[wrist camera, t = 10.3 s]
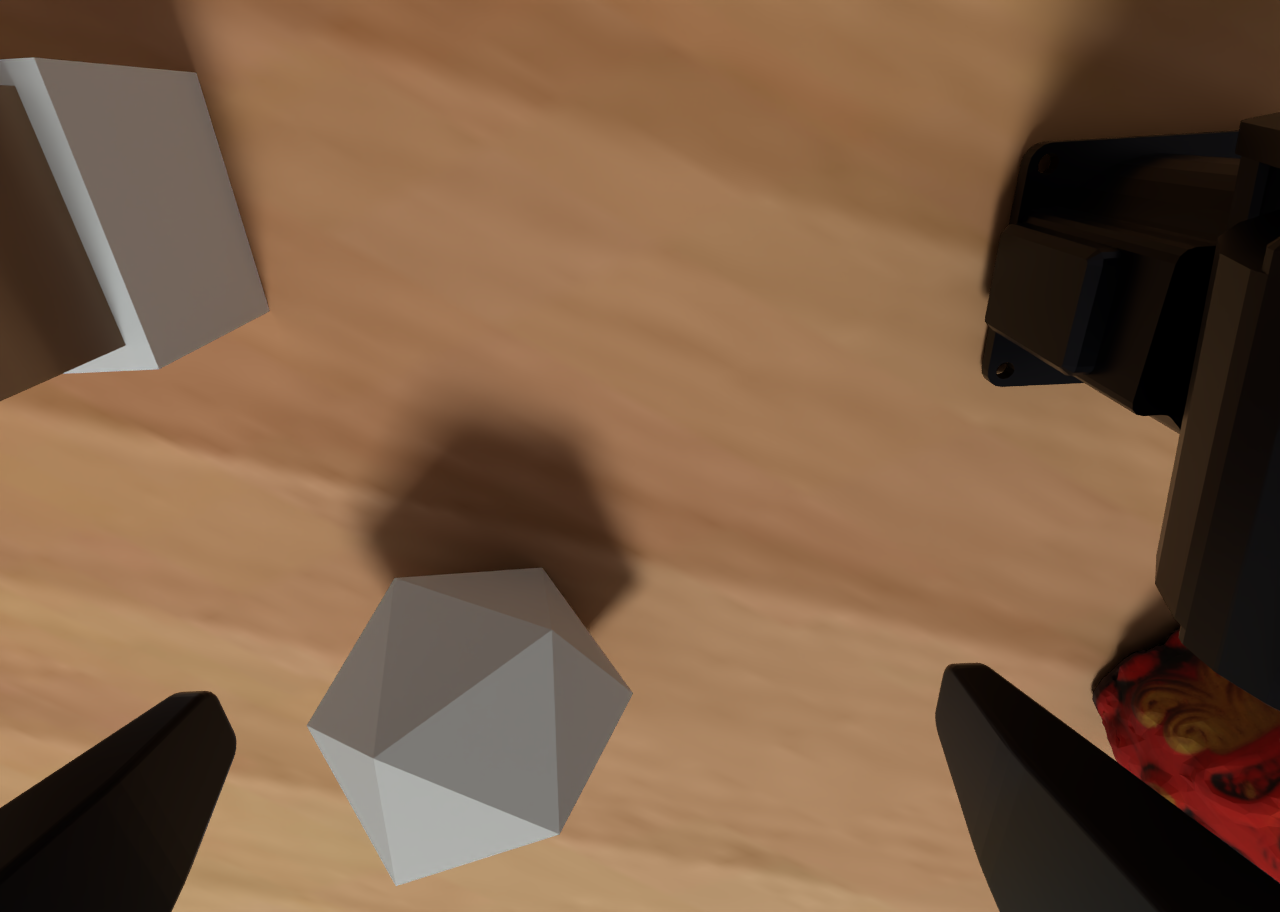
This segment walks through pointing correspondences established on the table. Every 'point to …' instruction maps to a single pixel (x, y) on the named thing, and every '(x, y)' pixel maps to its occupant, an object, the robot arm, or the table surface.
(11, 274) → the brown cube
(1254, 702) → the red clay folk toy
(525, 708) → the die
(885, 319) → the table surface
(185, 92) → the grey block
